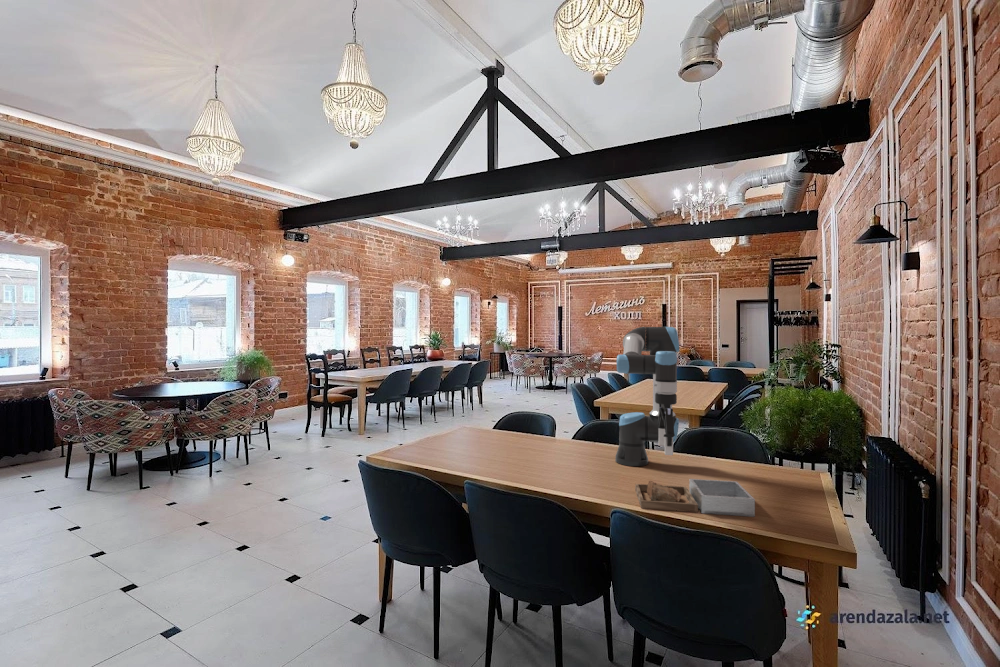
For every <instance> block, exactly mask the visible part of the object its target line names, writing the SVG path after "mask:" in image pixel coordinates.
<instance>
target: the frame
mask: <svg viewBox="0 0 1000 667" xmlns="http://www.w3.org/2000/svg"><path fill="white" fill-rule="evenodd" d="M661 485H662V484H661ZM647 486H648V484H644V483H643V484H642V483H635V493H636V497H637V500H638V502H639V506H640V508H641V509H647V510H649V509H650V510H664V511H665V510H666V511H676V510H677V511H678V512H693V513H698V512H699V509H698V504H697V503H696V501H695V500H694V498H693V497H692V495H691V494H690V492H689V489H688V487H687V486H680V485H678V486H677V485H665V484H664V485H662V486H664V487H668V488H673V489H675V490H677V491H678V492H679V493H680V494H681V495H684V497H685V496H686V497H685V498H686V500H687V501H689V502H663V501H652V500H648V499H647V500H646V499H644V497H643V495H642V494H643V493H642V492H644V493H647ZM677 511H676V512H677Z"/></svg>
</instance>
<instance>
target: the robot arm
mask: <svg viewBox="0 0 1000 667" xmlns="http://www.w3.org/2000/svg"><path fill="white" fill-rule="evenodd" d="M622 347H623V351H622V352H623V353H622V354H617V356H616V372H617V373H619V374H625V375H627V374H632V375H633V374H634V375H636V374H638V375H652V409H651V411H649V413H648V414H649V415H648V416H646V415H645V413H644V412H637V411H636V412H628V413H627V412H626V413H624V414H623V413H622V414H621V415H620V416H619V423H618V426H619V430H618V431H619V434H618V435H619V436H618V437H619V438H618V440H619V442H618V448H617V451H616V453H615V456H614V457H615V463H617V464H620V465H623V466H627V467H644V466H647V465H649V456H648V454H647V451H646V447H645V442H652V443H658V446H659V447H664V456H674V443H675V442H676V441H677V438H678V434H679V433H678V432H679V428H680V426H679V425H680V424H679V423H680V419H679V418H678V417H676V416H677V415H676V414H677V413H675V412H674V409H673V405H677V401H678V400H677V399H678V398H677V396H678V395H677V394H676V393H677V392H678V381H677V380H678V379H677V374H678V372H677V371H678V357H677V356H678V355H677V353H679V352H680V342H679V335H678V330H677V329H676V327H673V326H641V327H640V326H639V327H637V328H633V329H632V330H630V331H628V332H627V333H626V334H625V335H624V337H623V340H622ZM642 352H648V353H649V354H642Z"/></svg>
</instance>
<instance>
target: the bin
mask: <svg viewBox="0 0 1000 667" xmlns="http://www.w3.org/2000/svg"><path fill="white" fill-rule="evenodd" d="M688 480H689V483H688V484H689V487H688V488H689V489H688V490H689V492H690V494H691V495H692V497H693V498H694V500H695V501H696V503H697V504H698V511H699V512H700V513H701V514H707V515H720V516H734V517H749V518H755V517H756V499H755V497H753V496H752V495H751V494H750V493H749V492H748V490H746V489H745V488H744V487H743V486H742V485H741V484H740V482H738V481H736V480H735V481H734V480H720V479H717V480H716V479H702V478H700V479H698V478H689V479H688Z"/></svg>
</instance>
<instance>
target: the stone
mask: <svg viewBox="0 0 1000 667" xmlns="http://www.w3.org/2000/svg"><path fill="white" fill-rule="evenodd" d="M647 485H648V486H647V492H646V493H647V495H648V498H649V499H650V500H651V501H663V502H678V503H680V500H681V497H682V494H680V493H679V492H678V491H677V490H675V489H673V488H668V487H664V486H665V485H664V486H662V484H660V483H657V482H654V481H653V480H648V484H647Z"/></svg>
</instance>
